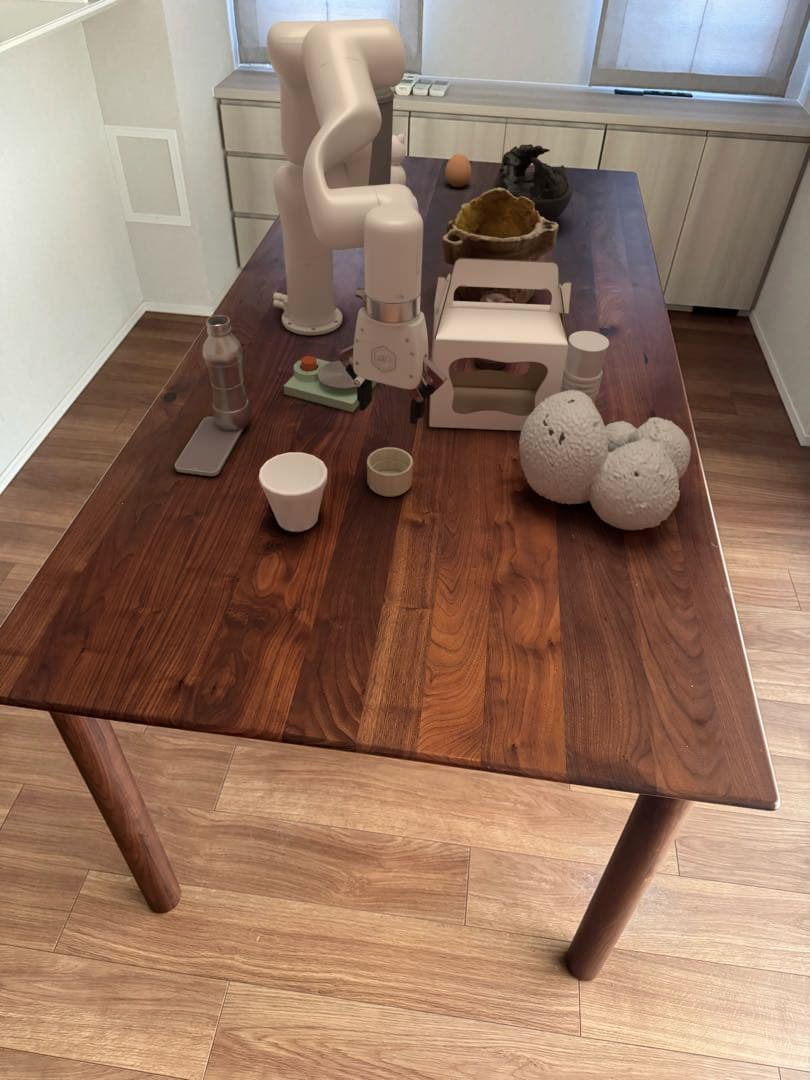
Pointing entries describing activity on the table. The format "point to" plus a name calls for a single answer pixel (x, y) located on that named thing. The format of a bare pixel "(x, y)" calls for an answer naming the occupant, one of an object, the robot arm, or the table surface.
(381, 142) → the canister
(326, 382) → the scale plate
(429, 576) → the table surface
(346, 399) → the scale
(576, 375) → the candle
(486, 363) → the can
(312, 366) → the button
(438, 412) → the cardboard gift box
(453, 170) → the egg
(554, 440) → the grey lumpy cluster
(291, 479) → the cup
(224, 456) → the smartphone
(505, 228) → the ceramic vessel
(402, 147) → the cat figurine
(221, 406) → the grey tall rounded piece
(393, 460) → the bowl
